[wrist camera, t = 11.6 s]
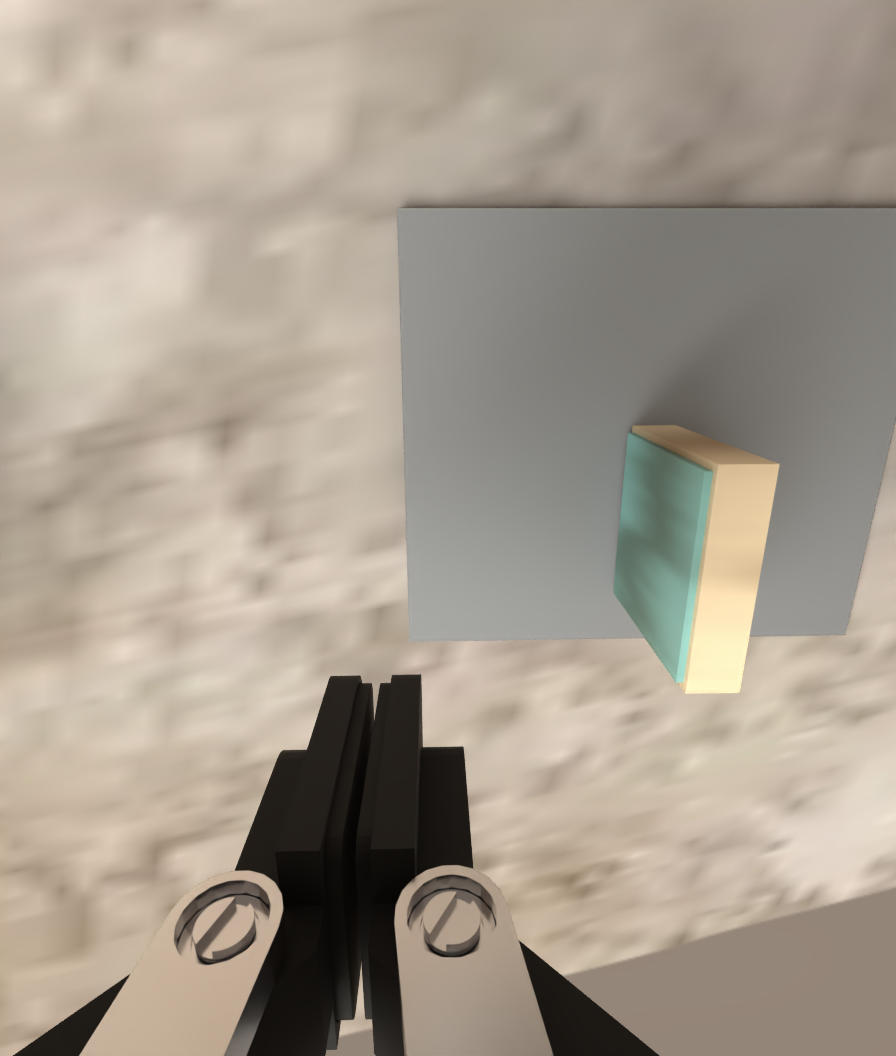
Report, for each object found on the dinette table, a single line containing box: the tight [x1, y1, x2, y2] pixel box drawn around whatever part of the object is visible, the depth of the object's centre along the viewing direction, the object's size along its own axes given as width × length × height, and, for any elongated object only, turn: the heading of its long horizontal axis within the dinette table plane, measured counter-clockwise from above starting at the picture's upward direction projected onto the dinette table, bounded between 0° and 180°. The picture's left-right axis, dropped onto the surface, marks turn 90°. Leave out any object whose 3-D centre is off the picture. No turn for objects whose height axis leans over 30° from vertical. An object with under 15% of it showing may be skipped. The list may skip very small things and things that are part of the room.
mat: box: [397, 208, 896, 642], centre depth 19 cm, size 14×16×1 cm
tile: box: [613, 425, 780, 693], centre depth 17 cm, size 6×2×6 cm
